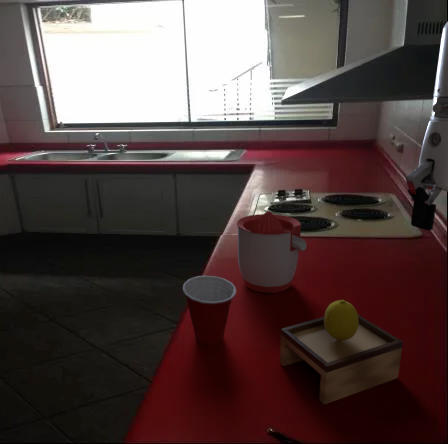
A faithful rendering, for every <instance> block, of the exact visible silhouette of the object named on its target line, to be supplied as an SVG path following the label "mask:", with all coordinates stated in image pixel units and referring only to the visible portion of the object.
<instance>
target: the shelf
mask: <svg viewBox="0 0 448 444" xmlns="http://www.w3.org/2000/svg"><path fill="white" fill-rule="evenodd" d="M358 319H359V324H358V329H357V332H356V333H355V335H354V336H353V337H352V338H350V339H348V340H342V341H338V340H337V339H335V338H333V337H332V336H330V335H329V333H328V332H327V331H326V328H325V325H324V316H322V317H318V318H315V319H310V320H307V321H304V322H299V323H297V324H293V325H290V326H286V327H283V328H280V343H279V345H280V347H279V364H280V365H281V366H283V367H286V366H289V365H292V364H296V363H298V362H303V361H304V362H306V363H307V364H308V365H309V366H310V367H311V368H313V369H314V370H315V371H316V372H317V373H318V374H320V384H319V397H318V400H319V402H320V403H322V404H323V405H328V404H330V403H332V402H335V401H338V400H342V399H344V398H346V397H349V396H352V395H355V394H358V393H360V392H363V391H366V390H368V389H372V388H374V387H377V386H380V385H382V384H386V383H388V382H390V381H393V380H396V379H398V378H399V373H400V367H401V358H402V352H403V346H404V345H403V344H404V341H403V340H401V339H400V338H397V337H396V336H394V335H393V334H391V333H390V332H388V331H386V330H384V329H383V328H382V327H380V326H378V325H376V324H375V323H373V322H371V321H370V320H368V319H366V318H364V317H363V316H361V315H360V314H358Z"/></svg>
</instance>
